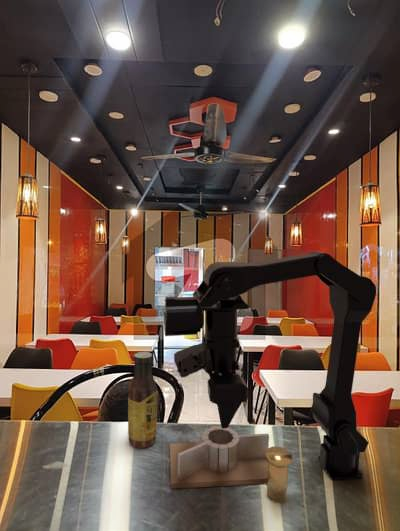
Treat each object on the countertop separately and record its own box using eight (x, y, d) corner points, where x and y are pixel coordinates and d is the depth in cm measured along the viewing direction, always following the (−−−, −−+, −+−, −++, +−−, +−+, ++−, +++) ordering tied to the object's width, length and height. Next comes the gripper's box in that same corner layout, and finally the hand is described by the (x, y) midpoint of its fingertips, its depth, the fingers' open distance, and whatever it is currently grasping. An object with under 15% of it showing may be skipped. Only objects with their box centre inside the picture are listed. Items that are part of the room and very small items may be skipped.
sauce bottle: (151, 451, 77) (151, 362, 74) (123, 447, 78) (122, 359, 76) (160, 433, 83) (161, 351, 81) (134, 430, 85) (134, 348, 82)
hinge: (262, 445, 78) (263, 424, 78) (275, 475, 69) (276, 451, 69) (176, 449, 76) (176, 427, 76) (177, 480, 67) (178, 455, 67)
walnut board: (260, 443, 81) (260, 439, 80) (276, 482, 69) (277, 477, 69) (169, 447, 78) (169, 443, 78) (171, 488, 67) (171, 483, 67)
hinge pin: (284, 485, 68) (286, 445, 67) (293, 504, 64) (295, 462, 63) (260, 486, 68) (262, 446, 67) (267, 505, 63) (270, 463, 62)
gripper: (175, 319, 74) (175, 391, 76) (178, 353, 55) (179, 447, 58) (229, 317, 75) (228, 389, 77) (249, 351, 56) (248, 443, 59)
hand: (220, 413), depth 67 cm, fingers open, 9 cm apart
